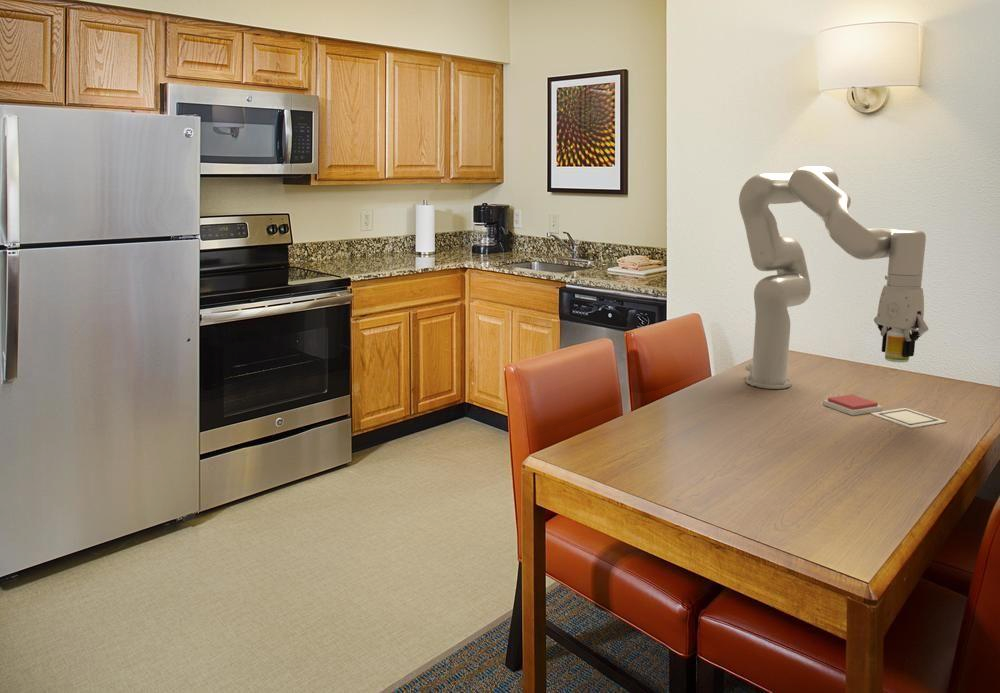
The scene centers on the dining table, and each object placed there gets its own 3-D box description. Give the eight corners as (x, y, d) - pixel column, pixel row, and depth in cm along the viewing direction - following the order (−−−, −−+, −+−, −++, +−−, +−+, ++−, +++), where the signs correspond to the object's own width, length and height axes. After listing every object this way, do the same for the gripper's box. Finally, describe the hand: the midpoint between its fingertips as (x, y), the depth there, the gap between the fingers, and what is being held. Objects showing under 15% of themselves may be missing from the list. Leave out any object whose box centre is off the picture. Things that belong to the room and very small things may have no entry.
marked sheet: (870, 414, 196) (870, 412, 196) (905, 408, 201) (905, 407, 201) (910, 428, 185) (911, 426, 185) (946, 422, 190) (946, 420, 190)
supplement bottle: (911, 363, 189) (915, 324, 187) (887, 362, 190) (891, 323, 188) (905, 358, 194) (908, 320, 192) (882, 357, 196) (885, 319, 194)
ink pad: (822, 404, 204) (823, 397, 204) (851, 400, 208) (852, 393, 208) (852, 415, 195) (853, 407, 195) (881, 410, 199) (882, 403, 199)
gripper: (864, 278, 195) (858, 348, 199) (923, 286, 179) (915, 362, 183) (886, 276, 197) (880, 346, 201) (946, 284, 182) (938, 359, 186)
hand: (897, 353), depth 192 cm, fingers closed on supplement bottle, 5 cm apart
